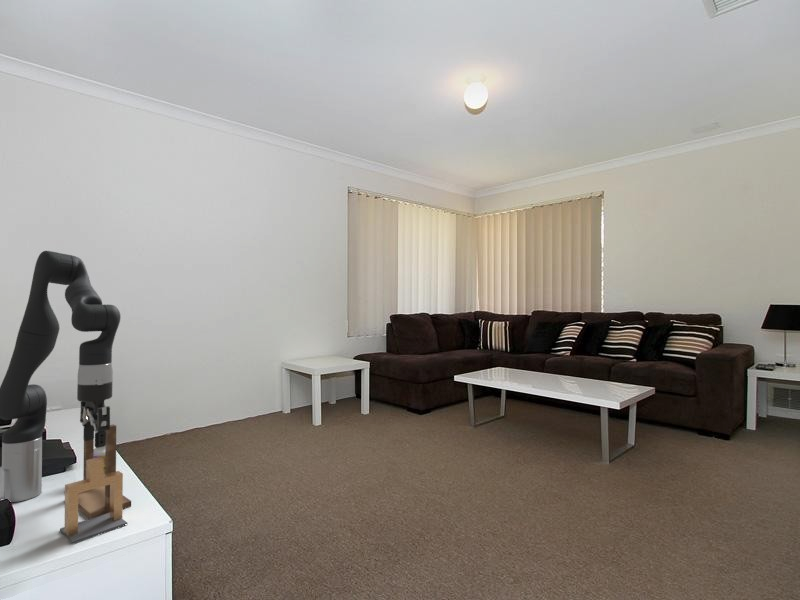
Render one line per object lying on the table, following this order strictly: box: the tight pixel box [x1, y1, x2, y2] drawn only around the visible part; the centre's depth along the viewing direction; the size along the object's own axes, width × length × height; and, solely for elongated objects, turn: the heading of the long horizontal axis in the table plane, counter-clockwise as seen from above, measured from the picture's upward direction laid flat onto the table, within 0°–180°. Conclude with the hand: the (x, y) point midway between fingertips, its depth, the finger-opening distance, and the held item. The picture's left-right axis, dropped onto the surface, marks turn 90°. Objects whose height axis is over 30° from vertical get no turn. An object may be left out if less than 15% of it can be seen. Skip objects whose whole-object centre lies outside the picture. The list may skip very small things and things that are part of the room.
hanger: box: [64, 457, 124, 536], centre depth 115 cm, size 12×3×17 cm, turn 141°
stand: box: [78, 423, 132, 519], centre depth 130 cm, size 10×20×24 cm, turn 51°
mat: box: [59, 513, 128, 545], centre depth 115 cm, size 12×10×1 cm
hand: (94, 443), depth 115 cm, fingers open, 8 cm apart
